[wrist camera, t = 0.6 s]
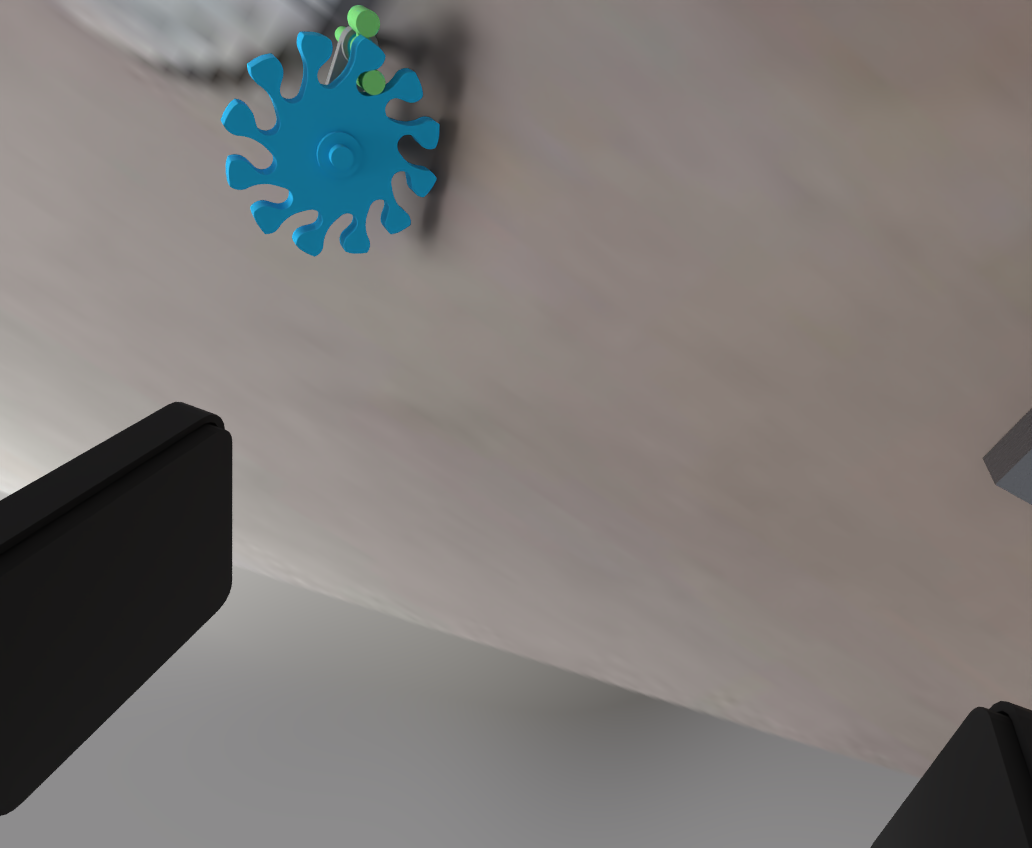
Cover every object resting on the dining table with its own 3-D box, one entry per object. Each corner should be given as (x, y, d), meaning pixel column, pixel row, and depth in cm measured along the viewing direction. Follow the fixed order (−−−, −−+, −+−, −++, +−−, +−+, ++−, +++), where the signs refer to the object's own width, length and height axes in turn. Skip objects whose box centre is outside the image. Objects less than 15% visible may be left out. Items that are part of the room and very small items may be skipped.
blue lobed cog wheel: (402, 283, 39) (199, 231, 33) (368, 239, 43) (182, 187, 37) (486, 66, 34) (269, -38, 28) (439, 41, 38) (241, -54, 33)
